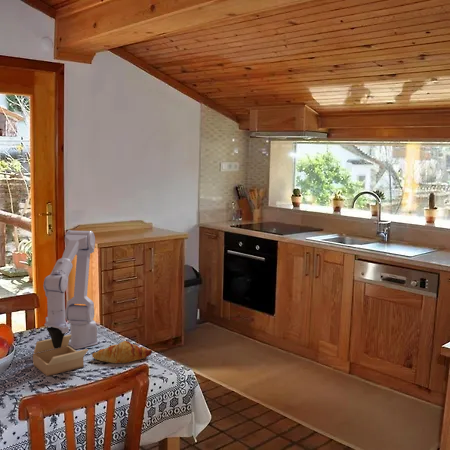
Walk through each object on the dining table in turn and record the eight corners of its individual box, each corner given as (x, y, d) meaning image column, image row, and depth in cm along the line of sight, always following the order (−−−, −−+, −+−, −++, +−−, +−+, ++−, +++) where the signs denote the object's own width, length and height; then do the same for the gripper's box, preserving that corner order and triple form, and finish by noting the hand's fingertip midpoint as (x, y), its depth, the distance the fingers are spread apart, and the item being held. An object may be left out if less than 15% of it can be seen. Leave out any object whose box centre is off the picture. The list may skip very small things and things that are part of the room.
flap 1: (67, 345, 197) (67, 344, 197) (71, 335, 194) (70, 334, 194) (34, 353, 189) (33, 352, 189) (37, 342, 186) (36, 341, 186)
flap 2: (87, 348, 184) (88, 350, 184) (82, 356, 188) (82, 357, 188) (52, 357, 176) (53, 358, 176) (47, 364, 180) (48, 365, 180)
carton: (68, 356, 198) (68, 345, 197) (83, 366, 189) (83, 355, 188) (33, 365, 189) (32, 353, 189) (46, 376, 180) (46, 364, 180)
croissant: (91, 372, 192) (90, 357, 188) (93, 350, 200) (91, 335, 196) (152, 368, 196) (152, 353, 191) (151, 347, 204) (151, 332, 199)
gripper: (36, 306, 190) (37, 344, 191) (53, 316, 179) (54, 356, 180) (56, 303, 194) (57, 339, 196) (73, 312, 183) (74, 351, 185)
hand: (57, 347), depth 188 cm, fingers closed
